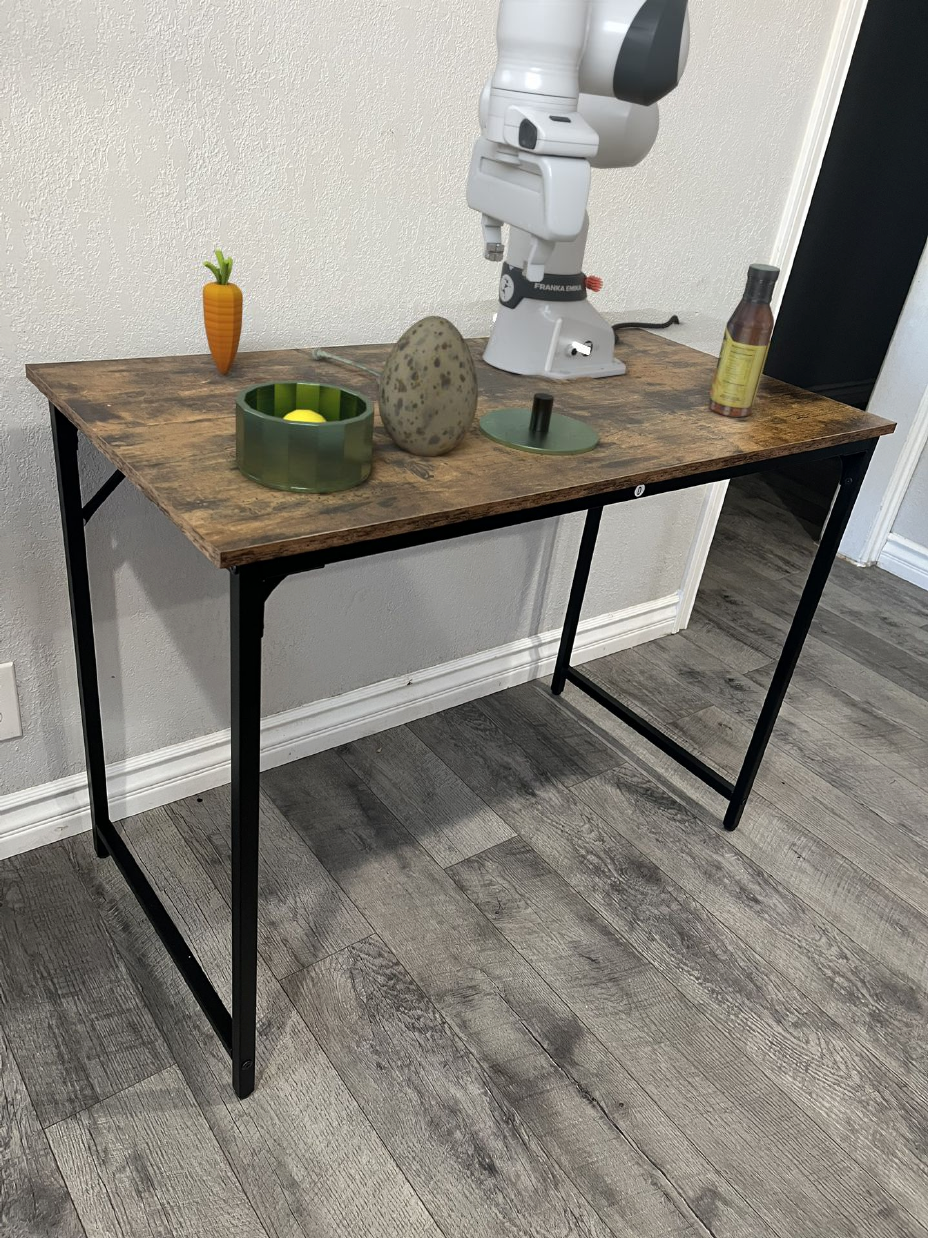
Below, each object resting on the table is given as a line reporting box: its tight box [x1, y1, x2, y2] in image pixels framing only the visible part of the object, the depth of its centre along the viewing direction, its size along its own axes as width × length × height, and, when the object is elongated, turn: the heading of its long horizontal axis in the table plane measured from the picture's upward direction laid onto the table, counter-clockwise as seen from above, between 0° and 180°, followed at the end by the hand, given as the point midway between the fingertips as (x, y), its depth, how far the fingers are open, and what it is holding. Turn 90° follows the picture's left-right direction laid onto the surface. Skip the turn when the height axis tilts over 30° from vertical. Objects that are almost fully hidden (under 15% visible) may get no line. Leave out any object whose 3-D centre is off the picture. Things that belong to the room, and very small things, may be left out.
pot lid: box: [478, 392, 600, 456], centre depth 113 cm, size 15×15×5 cm
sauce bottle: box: [708, 263, 781, 418], centre depth 129 cm, size 7×6×20 cm
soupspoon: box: [311, 347, 382, 385], centre depth 126 cm, size 22×3×7 cm
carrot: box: [202, 249, 244, 376], centre depth 118 cm, size 5×5×15 cm
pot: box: [235, 380, 375, 494], centre depth 96 cm, size 14×14×7 cm
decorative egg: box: [377, 315, 479, 457], centre depth 102 cm, size 11×11×15 cm
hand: (511, 269), depth 102 cm, fingers open, 8 cm apart
